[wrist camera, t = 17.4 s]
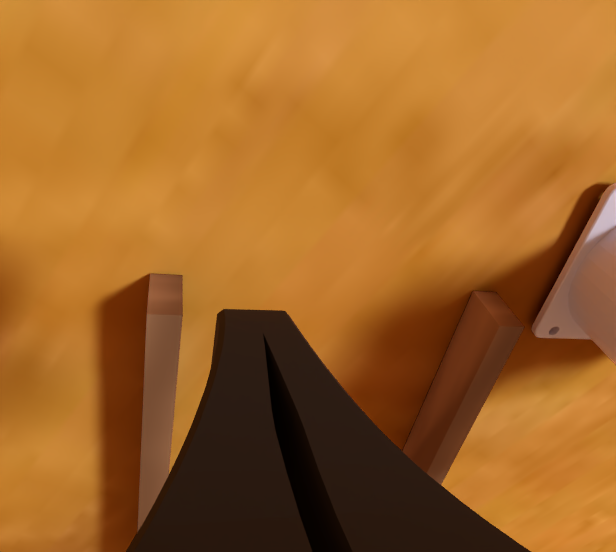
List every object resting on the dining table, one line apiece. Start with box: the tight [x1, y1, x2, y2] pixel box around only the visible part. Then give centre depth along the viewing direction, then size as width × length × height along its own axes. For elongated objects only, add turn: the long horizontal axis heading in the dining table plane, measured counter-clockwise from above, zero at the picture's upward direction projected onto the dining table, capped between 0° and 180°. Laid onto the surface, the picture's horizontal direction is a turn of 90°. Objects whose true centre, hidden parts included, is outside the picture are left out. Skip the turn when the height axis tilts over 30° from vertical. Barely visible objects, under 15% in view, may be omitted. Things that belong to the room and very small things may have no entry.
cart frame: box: [138, 274, 524, 531], centre depth 26 cm, size 15×18×2 cm
